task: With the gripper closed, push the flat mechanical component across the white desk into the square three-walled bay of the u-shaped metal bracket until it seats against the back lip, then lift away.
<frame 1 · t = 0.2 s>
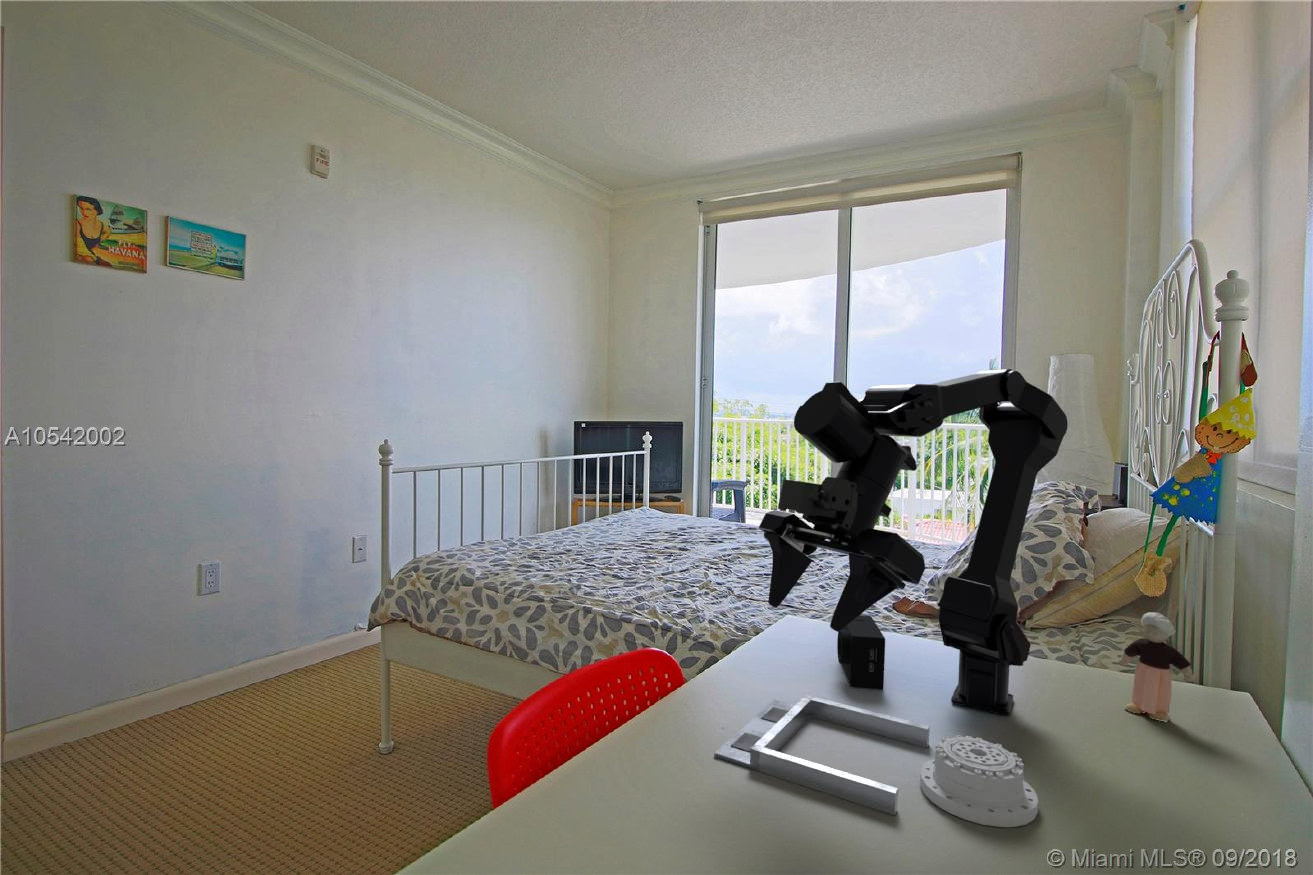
hand: (801, 617, 68), 15 cm above the table, tool tilted 30°, fingers open, 9 cm apart
mechanical component: (976, 800, 63), on the table
digital camera: (855, 675, 93), on the table
u-shaped metal bracket: (848, 757, 70), on the table
grandmother figurine: (1152, 717, 82), on the table
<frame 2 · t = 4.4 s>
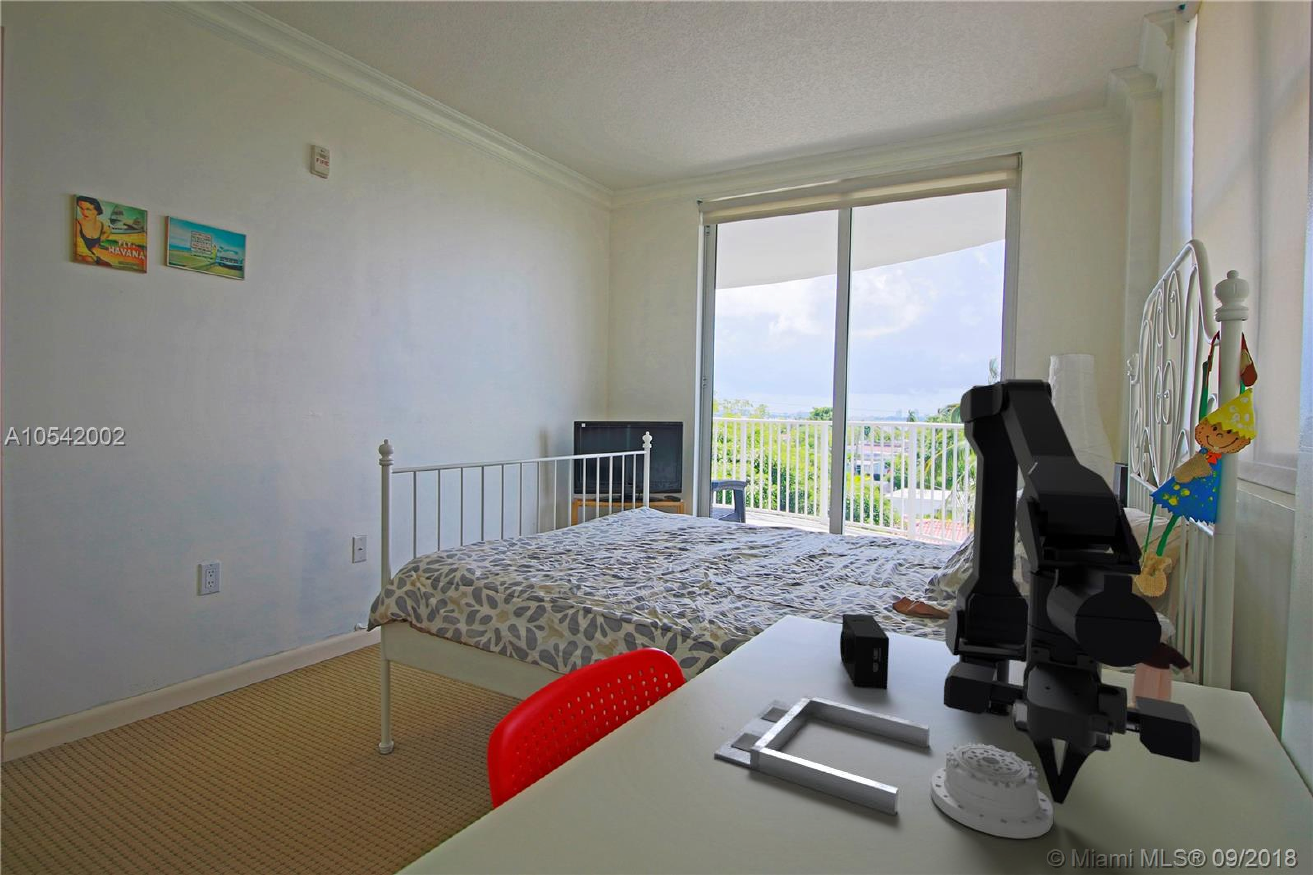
hand: (1058, 801, 60), 2 cm above the table, tool pointing down, fingers closed
mechanical component: (989, 810, 61), on the table
everything else where it was.
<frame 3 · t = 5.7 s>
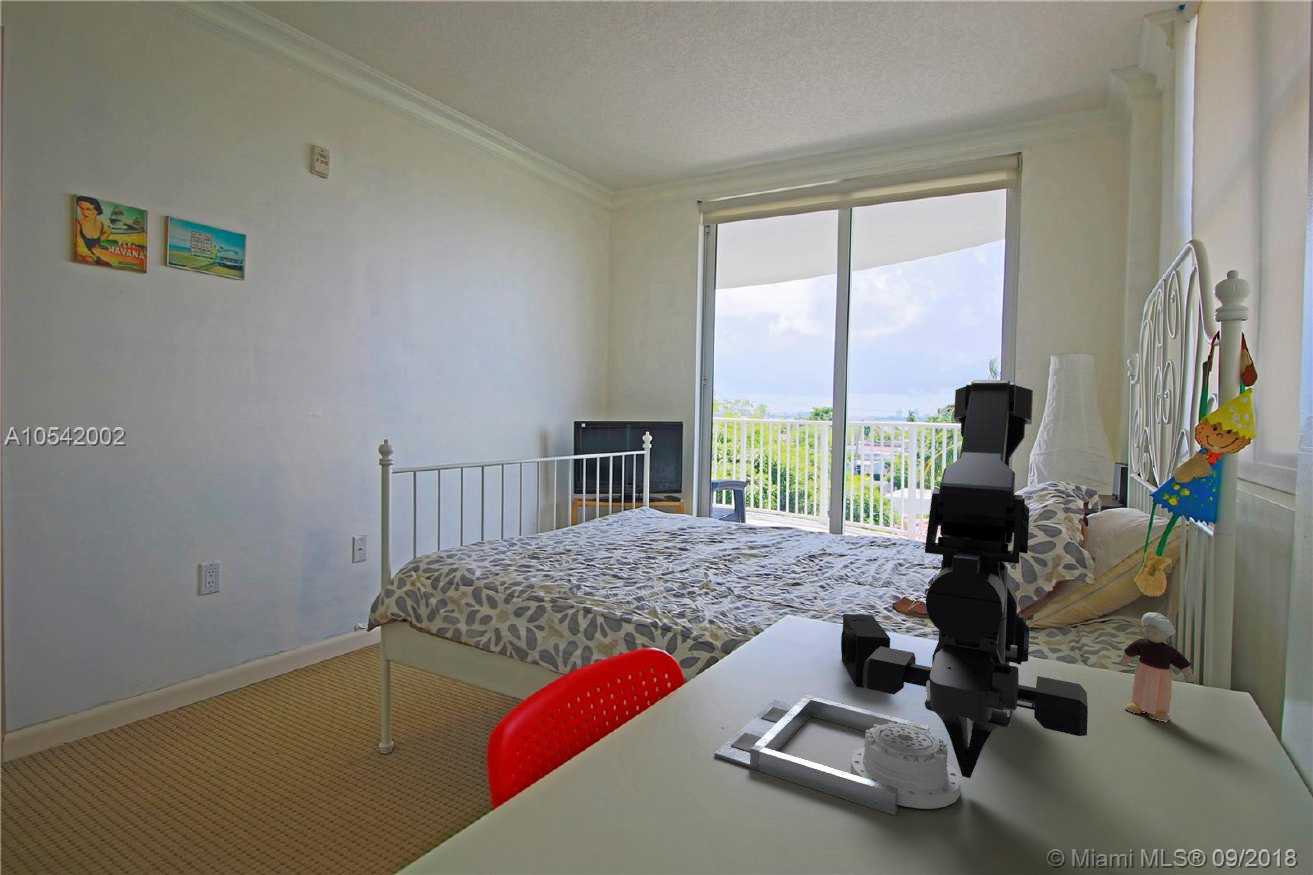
hand: (966, 775, 64), 2 cm above the table, tool pointing down, fingers closed
mechanical component: (903, 784, 65), on the table, touching gripper
everything else where it was.
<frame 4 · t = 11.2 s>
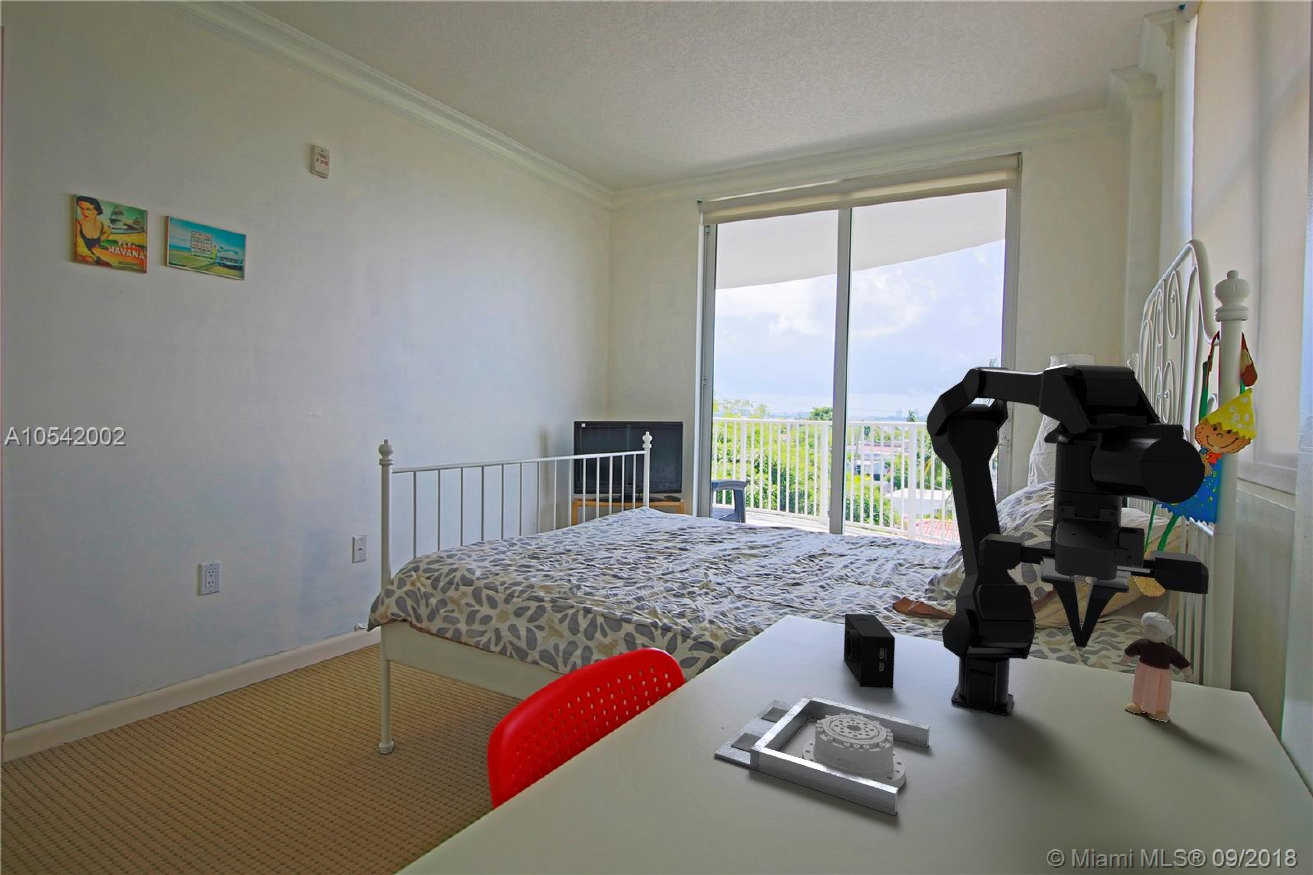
hand: (1080, 646, 67), 13 cm above the table, tool pointing down, fingers closed
mechanical component: (852, 773, 68), on the table
at the end: mechanical component inside the target area (2.7 cm from its centre), on the table; mechanical component moved 11.1 cm from its start; mechanical component tilted 1° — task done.
